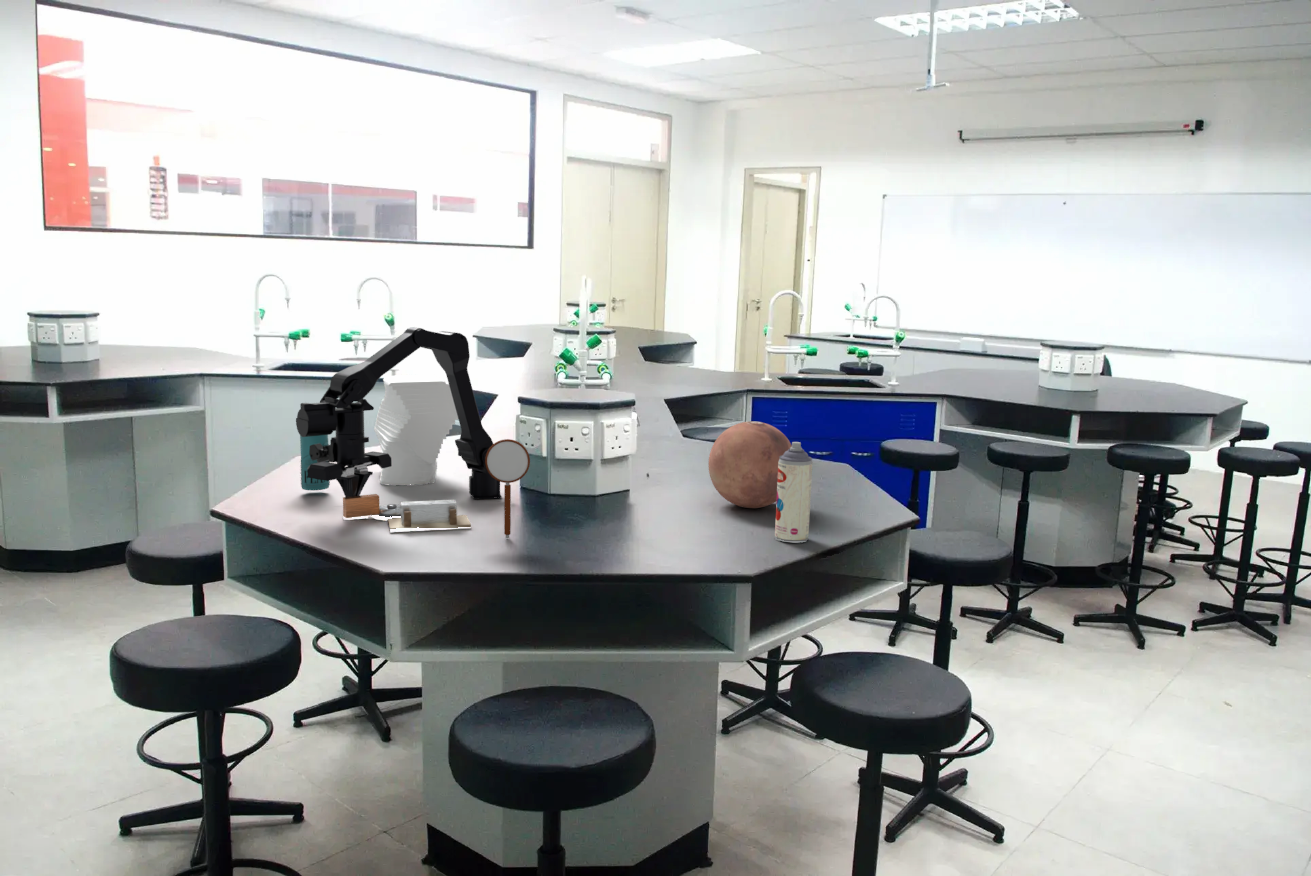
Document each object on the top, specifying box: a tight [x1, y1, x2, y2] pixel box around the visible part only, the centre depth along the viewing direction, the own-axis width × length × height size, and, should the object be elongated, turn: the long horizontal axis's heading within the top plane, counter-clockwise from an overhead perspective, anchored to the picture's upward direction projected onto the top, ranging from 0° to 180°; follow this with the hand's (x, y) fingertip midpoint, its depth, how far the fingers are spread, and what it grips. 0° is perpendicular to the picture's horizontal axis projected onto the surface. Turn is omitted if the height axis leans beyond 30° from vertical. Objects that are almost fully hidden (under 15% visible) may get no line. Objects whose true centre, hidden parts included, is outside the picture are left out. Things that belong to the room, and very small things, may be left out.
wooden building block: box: [342, 493, 401, 518], centre depth 202 cm, size 6×13×4 cm, turn 125°
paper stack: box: [373, 374, 459, 486], centre depth 242 cm, size 21×27×26 cm
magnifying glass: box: [485, 438, 531, 539], centre depth 187 cm, size 9×2×20 cm, turn 94°
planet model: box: [708, 420, 792, 509], centre depth 220 cm, size 20×20×20 cm
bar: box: [399, 499, 458, 525], centre depth 196 cm, size 11×3×4 cm, turn 108°
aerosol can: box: [774, 441, 813, 541], centre depth 193 cm, size 7×7×20 cm
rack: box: [387, 509, 472, 529], centre depth 197 cm, size 16×8×4 cm, turn 108°
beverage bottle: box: [299, 435, 331, 491], centre depth 221 cm, size 6×7×20 cm
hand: (351, 505), depth 202 cm, fingers closed
